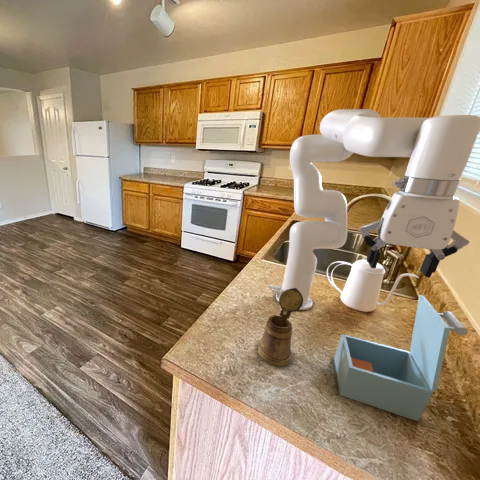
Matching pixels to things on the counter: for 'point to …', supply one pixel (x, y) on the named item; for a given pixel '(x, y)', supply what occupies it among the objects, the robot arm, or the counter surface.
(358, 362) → the block
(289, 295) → the wooden mug
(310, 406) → the counter surface
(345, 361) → the chest
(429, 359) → the lid
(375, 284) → the coffeepot
